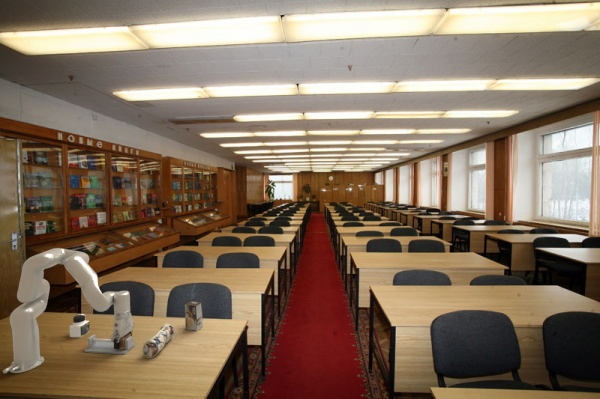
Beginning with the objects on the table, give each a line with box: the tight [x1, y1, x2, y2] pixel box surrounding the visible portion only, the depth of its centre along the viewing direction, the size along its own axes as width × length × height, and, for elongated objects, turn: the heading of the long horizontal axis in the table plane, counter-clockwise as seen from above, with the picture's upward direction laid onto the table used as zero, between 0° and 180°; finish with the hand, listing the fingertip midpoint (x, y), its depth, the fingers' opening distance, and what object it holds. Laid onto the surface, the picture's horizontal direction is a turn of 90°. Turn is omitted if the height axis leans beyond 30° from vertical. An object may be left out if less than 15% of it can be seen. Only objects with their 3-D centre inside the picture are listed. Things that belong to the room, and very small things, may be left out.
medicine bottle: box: [68, 313, 91, 338], centre depth 175 cm, size 7×7×12 cm
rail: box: [83, 334, 137, 355], centre depth 160 cm, size 9×24×6 cm, turn 85°
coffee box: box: [184, 300, 204, 332], centre depth 183 cm, size 9×6×16 cm
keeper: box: [116, 333, 131, 350], centre depth 159 cm, size 6×5×6 cm
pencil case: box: [142, 322, 176, 359], centre depth 161 cm, size 22×8×10 cm, turn 0°
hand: (123, 343), depth 159 cm, fingers open, 9 cm apart
